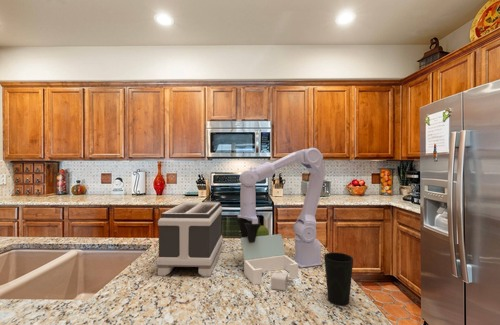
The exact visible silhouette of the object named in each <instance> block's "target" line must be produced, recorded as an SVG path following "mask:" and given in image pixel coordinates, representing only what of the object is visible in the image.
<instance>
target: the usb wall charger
mask: <svg viewBox="0 0 500 325" xmlns="http://www.w3.org/2000/svg"><path fill="white" fill-rule="evenodd" d="M288 277H289V276H288V273H285V272H284V273H283V272H277V271H273V273H272V274H271V278H270V282H271V283H270V288H271V290H277V291H282V292H283V291H284V292H285V291H287V289H288V287H289V286H291V287H296V286H295V284H296V283H297V281H296V280H293V279H289V278H288Z"/></svg>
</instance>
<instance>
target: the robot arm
mask: <svg viewBox="0 0 500 325" xmlns="http://www.w3.org/2000/svg"><path fill="white" fill-rule="evenodd" d="M323 159H324V155H323V154H322V152H321V151H320V150H319V149H318V148H316V147H309V148H303V149H300V150H296V151H294V152H293V151H292V152H290V153H289V154H287V155H285V156H283V157H281V158H279V159H277V160H275V161H273V162H270V161H261V162H260V164H258V165H256V166H253V167H252V166H251V167H249V170H244V171H242V172H241V173H240V175H239V178H238V180H239V183H240V191H239V192H240V193H239V194H240V195H239V196H240V197H239V198H240V201H239V203H240V207H239V208H240V211H239V213H238V214H237V217H236V221H237V223H238V226H239V230H240V234H241V238H246V237H248V241H249V243H253V242H255V239H256V235H257V232H258V229H259V227H260V226H262V225H261V222H259V218H258V217H257V212H256V211H257V210H256V208H257V205H256V201H257V200H256V196H257V195H256V184H257V182H262V181H263V180H265V179H268V178H270V177H273V176H274V175H275V172H276V171H277V170H279V169H282V168H284V167H287V166H289V165H291V164H293V163H295V164H296V163H297V164H301V165H302V166H303V167H305V168H306V170H307V171H308V172H309V173H310V175H309V180H308V184H307V189H306V193H305V198H304V199H303V204H302V208H301V211H300V213H299V215H298V216H297V220H296V221H295V222H294V223H293V228H292V230H293V232H294V234H295V237H294V258H291V259H292V260H293V261H295V262H296V263H298V268H307V267H308V268H309V267H316V266H321V265H323V262H322V244H321V242H320V241H319V239H318V238H317V234H318V231H317V220H316V213H317V209H318V207H319V206H318V205H319V201H320V197H321V194H322V189H323V184H324V180H325V178H326V177H325V175H326V168H325V163H324V160H323Z"/></svg>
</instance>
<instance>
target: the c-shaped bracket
mask: <svg viewBox="0 0 500 325" xmlns="http://www.w3.org/2000/svg"><path fill="white" fill-rule="evenodd" d="M292 259H293V258H291V257H290V256H288V255H287V254H285V255H279V256H272V257H264V258H256V259H249V260H244V259H243V264H244V265H243V271H244V272H243V274H244V276H246V278H247V279H248V281H249V282H250V283H251V284H252V285H253V286H256V285H262V283H263V273H266V272H272V271H273V272H274V271H277V270H286V271H287V272H288V273H289V280H293V279H297V278H299V266H298V263H296V262H295V261H293V260H292Z"/></svg>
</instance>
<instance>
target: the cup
mask: <svg viewBox="0 0 500 325" xmlns="http://www.w3.org/2000/svg"><path fill="white" fill-rule="evenodd" d="M323 256H324V257H323V258H324V268H325V281H326V291H327V292H326V293H327V300H328V302H330V303H331V304H332V305H335V306H339V307H340V306H341V307H343V306H347V305H349V304H350V298H351V286H352V277H353V268H354V267H353V266H354V258H353V257H352V255H349V254H346V253H342V252H327V253H325V254H324V255H323Z"/></svg>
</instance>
